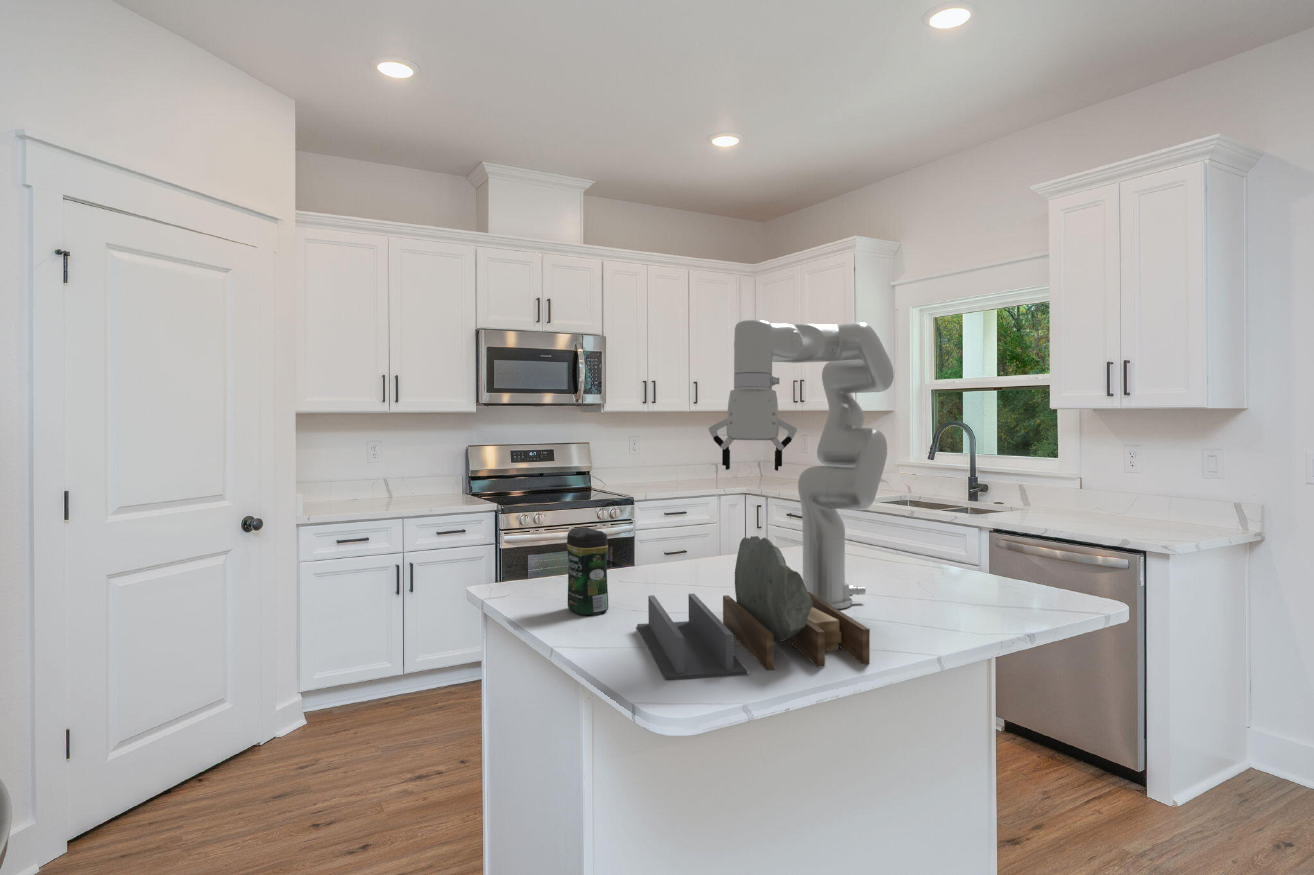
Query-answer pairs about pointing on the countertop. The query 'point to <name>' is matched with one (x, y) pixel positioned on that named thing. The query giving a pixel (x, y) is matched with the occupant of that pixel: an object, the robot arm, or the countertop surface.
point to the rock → (770, 588)
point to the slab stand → (690, 643)
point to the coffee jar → (587, 571)
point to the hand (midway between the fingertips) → (752, 469)
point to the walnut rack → (805, 641)
